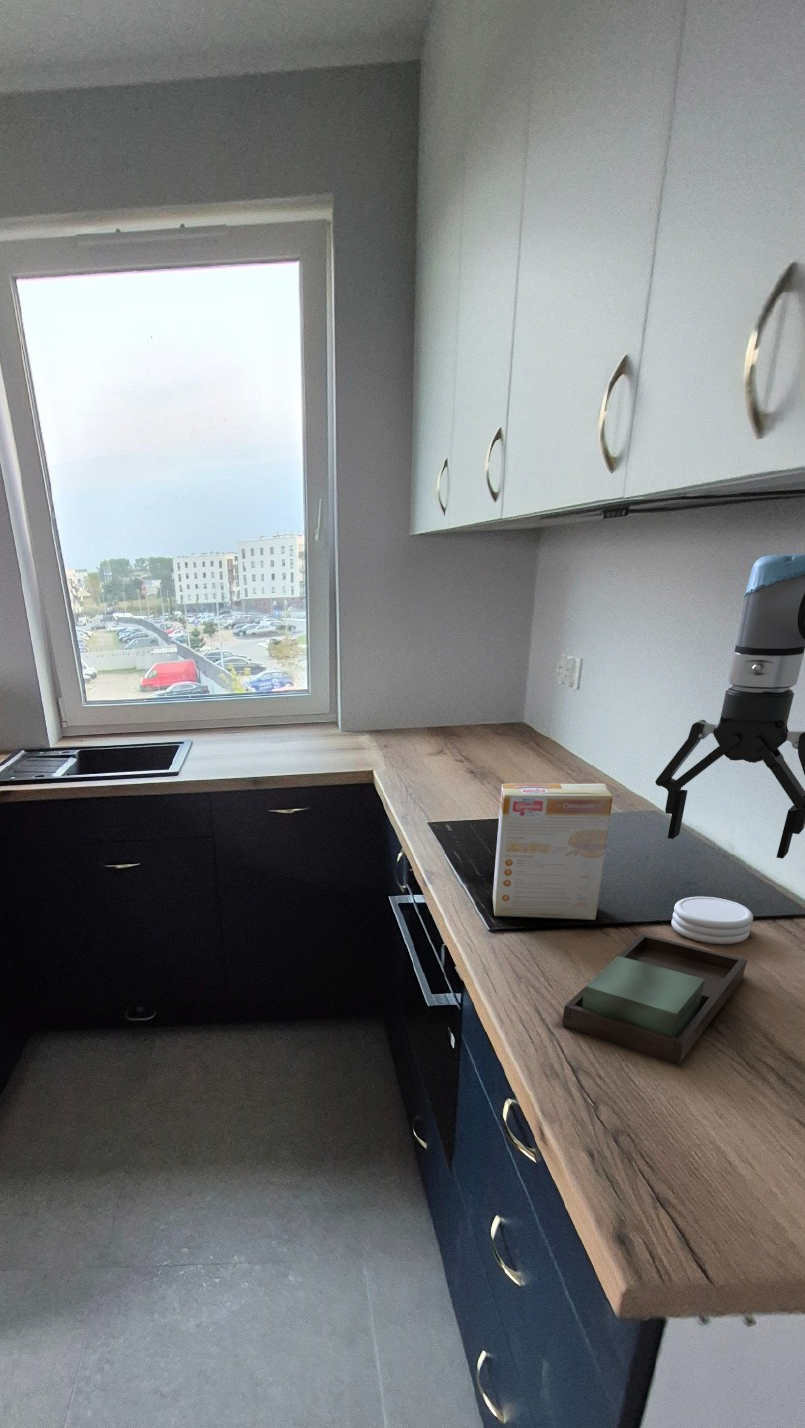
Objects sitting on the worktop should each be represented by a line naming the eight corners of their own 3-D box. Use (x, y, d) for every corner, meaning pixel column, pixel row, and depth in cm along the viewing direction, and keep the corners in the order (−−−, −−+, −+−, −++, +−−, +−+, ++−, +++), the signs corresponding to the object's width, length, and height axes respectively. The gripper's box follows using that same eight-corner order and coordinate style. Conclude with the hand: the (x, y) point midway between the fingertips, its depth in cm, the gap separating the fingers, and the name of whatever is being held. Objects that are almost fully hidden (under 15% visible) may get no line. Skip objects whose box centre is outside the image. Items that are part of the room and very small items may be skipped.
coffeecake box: (589, 903, 127) (606, 782, 119) (596, 921, 121) (615, 795, 112) (491, 899, 130) (501, 781, 122) (493, 917, 124) (504, 794, 116)
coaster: (661, 916, 121) (665, 894, 120) (732, 917, 120) (737, 895, 118) (683, 944, 112) (688, 922, 111) (760, 946, 111) (766, 923, 109)
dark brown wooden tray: (742, 978, 103) (751, 942, 101) (678, 1064, 87) (687, 1023, 85) (638, 950, 111) (644, 916, 109) (561, 1025, 95) (567, 987, 93)
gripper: (647, 685, 107) (623, 835, 116) (875, 700, 91) (826, 872, 100) (666, 677, 112) (641, 822, 121) (886, 690, 96) (838, 856, 105)
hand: (725, 845), depth 111 cm, fingers open, 13 cm apart
